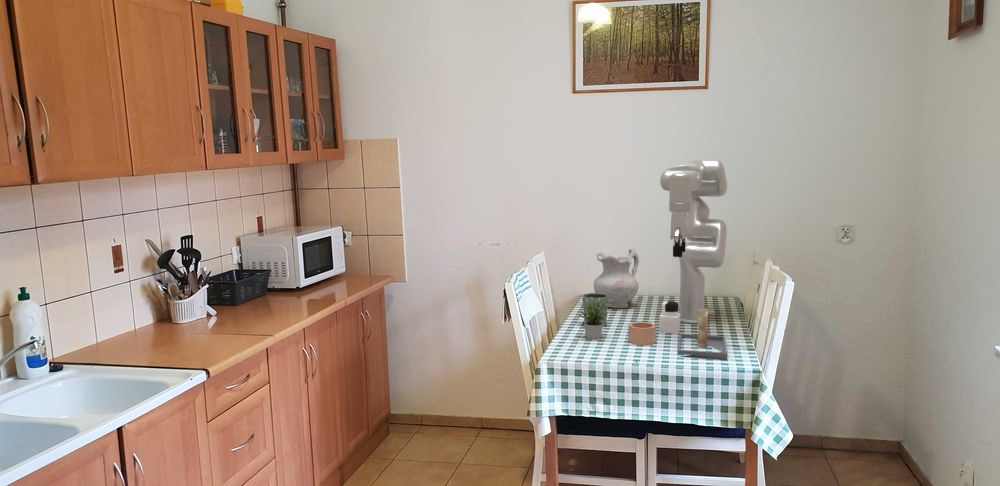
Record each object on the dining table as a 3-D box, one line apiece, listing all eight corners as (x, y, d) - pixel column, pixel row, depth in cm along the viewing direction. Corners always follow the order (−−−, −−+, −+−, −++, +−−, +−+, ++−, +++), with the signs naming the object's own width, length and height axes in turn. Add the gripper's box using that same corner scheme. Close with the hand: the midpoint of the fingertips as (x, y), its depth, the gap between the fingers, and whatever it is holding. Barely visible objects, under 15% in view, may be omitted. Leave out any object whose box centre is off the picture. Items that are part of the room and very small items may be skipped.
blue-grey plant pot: (610, 327, 283) (610, 297, 282) (584, 328, 282) (585, 298, 281) (604, 321, 293) (604, 292, 292) (579, 322, 292) (580, 292, 291)
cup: (647, 340, 265) (647, 321, 264) (659, 346, 256) (659, 327, 255) (624, 342, 263) (625, 323, 262) (636, 348, 254) (636, 329, 253)
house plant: (624, 339, 266) (624, 296, 263) (601, 347, 256) (601, 302, 254) (593, 333, 275) (593, 290, 273) (570, 340, 266) (570, 296, 264)
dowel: (703, 345, 254) (704, 307, 252) (708, 347, 251) (709, 309, 249) (695, 346, 254) (696, 308, 252) (700, 348, 251) (701, 310, 249)
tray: (679, 339, 265) (679, 333, 265) (725, 342, 261) (725, 336, 261) (677, 356, 244) (677, 350, 244) (727, 360, 240) (727, 353, 240)
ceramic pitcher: (616, 300, 336) (613, 247, 334) (651, 304, 321) (648, 248, 319) (586, 308, 321) (582, 252, 319) (621, 312, 307) (618, 254, 305)
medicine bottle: (680, 331, 277) (680, 300, 275) (678, 336, 270) (679, 304, 268) (661, 329, 279) (661, 299, 277) (658, 334, 272) (659, 303, 271)
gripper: (672, 204, 268) (671, 249, 271) (666, 210, 252) (665, 258, 255) (693, 204, 265) (692, 250, 268) (688, 210, 250) (687, 259, 252)
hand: (679, 254), depth 262 cm, fingers open, 9 cm apart
